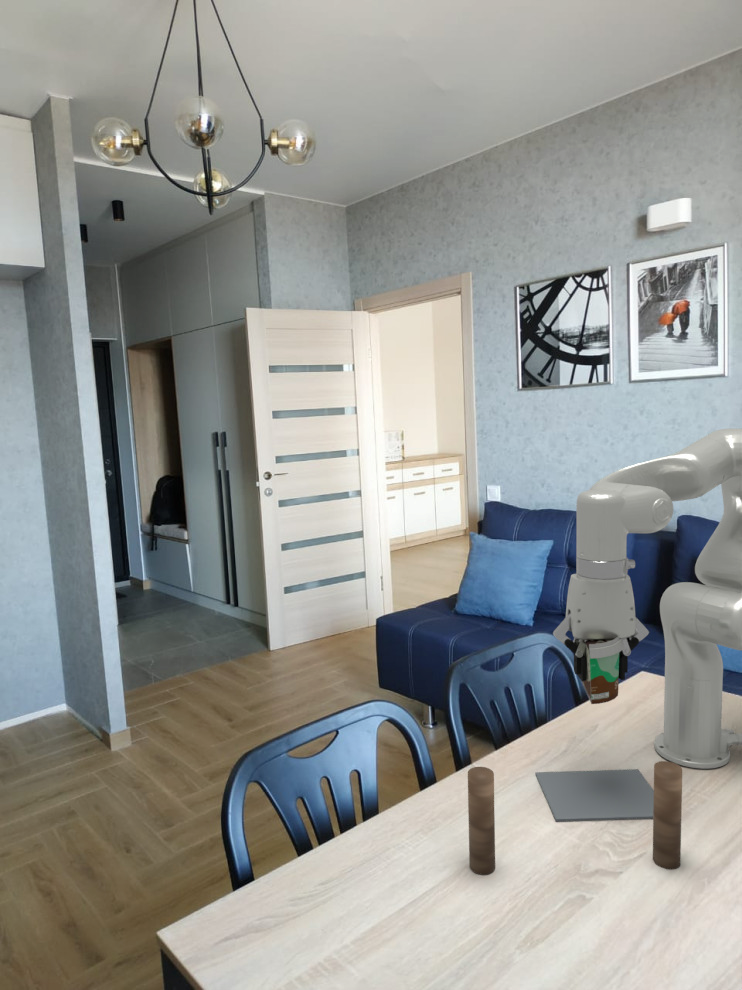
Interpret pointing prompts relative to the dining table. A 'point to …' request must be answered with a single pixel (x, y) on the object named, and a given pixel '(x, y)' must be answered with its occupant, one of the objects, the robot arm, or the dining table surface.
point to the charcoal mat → (597, 795)
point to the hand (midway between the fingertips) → (600, 676)
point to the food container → (602, 669)
